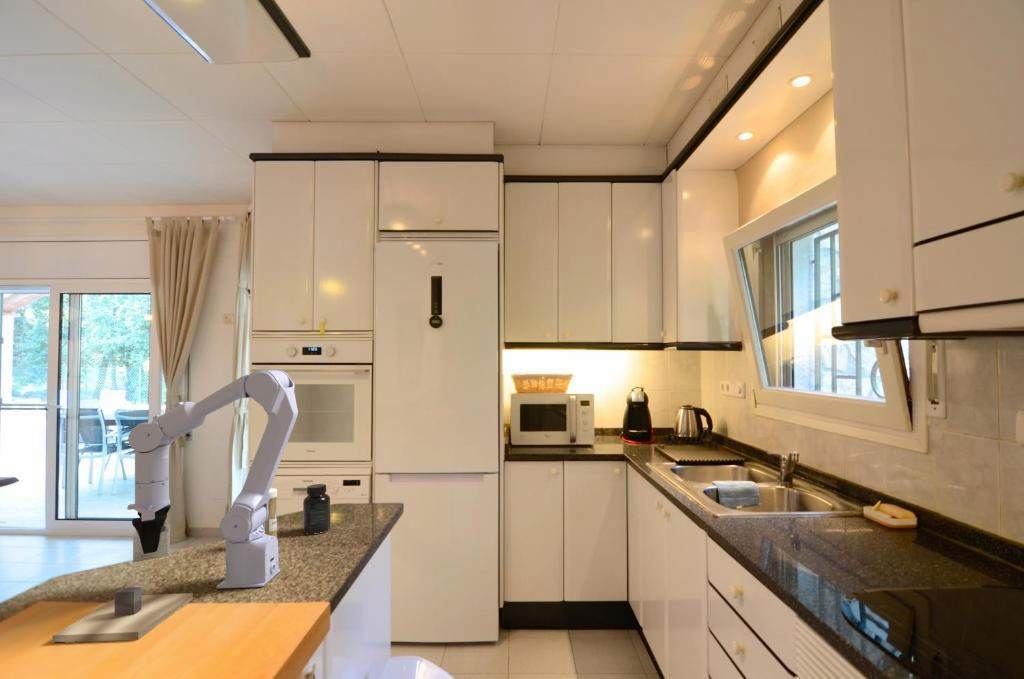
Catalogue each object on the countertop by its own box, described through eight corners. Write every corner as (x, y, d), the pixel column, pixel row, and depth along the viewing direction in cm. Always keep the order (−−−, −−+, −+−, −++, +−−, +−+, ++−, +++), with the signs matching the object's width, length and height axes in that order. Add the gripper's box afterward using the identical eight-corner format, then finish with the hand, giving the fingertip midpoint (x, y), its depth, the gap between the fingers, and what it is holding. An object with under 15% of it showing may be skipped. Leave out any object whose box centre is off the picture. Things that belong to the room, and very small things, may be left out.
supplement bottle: (305, 528, 137) (305, 484, 138) (332, 525, 139) (331, 481, 140) (301, 536, 131) (300, 489, 131) (329, 533, 132) (328, 487, 133)
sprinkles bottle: (279, 544, 125) (278, 490, 126) (258, 548, 123) (258, 493, 123) (276, 539, 129) (275, 486, 130) (256, 543, 126) (256, 489, 127)
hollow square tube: (169, 547, 106) (169, 524, 106) (167, 556, 101) (167, 531, 101) (137, 553, 103) (137, 529, 103) (133, 562, 98) (133, 536, 98)
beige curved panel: (192, 599, 96) (192, 571, 96) (138, 639, 82) (138, 606, 82) (119, 602, 96) (119, 574, 96) (52, 643, 82) (52, 610, 82)
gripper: (133, 477, 107) (133, 541, 106) (121, 490, 94) (121, 563, 94) (172, 472, 111) (173, 535, 110) (167, 484, 98) (167, 555, 97)
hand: (152, 547), depth 102 cm, fingers closed on hollow square tube, 6 cm apart
